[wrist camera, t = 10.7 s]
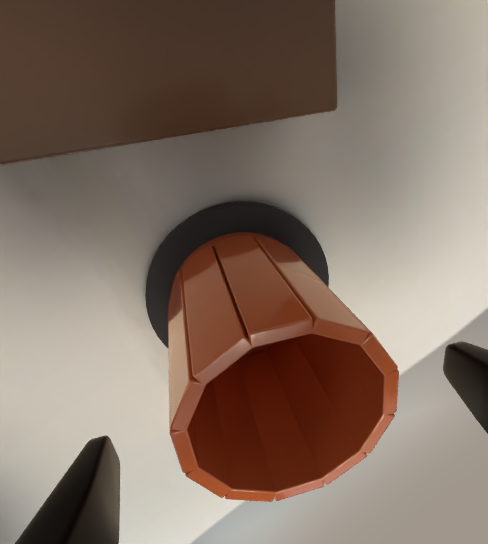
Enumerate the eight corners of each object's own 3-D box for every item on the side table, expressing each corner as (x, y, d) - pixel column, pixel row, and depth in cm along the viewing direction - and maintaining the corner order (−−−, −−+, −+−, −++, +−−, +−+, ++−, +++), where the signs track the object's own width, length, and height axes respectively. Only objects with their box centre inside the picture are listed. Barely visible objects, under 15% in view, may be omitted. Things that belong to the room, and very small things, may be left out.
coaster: (327, 341, 17) (332, 349, 16) (170, 381, 16) (170, 390, 15) (319, 184, 14) (325, 187, 13) (122, 222, 13) (120, 226, 12)
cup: (309, 337, 16) (393, 466, 10) (186, 367, 15) (199, 525, 9) (300, 218, 13) (405, 296, 7) (154, 248, 13) (144, 358, 7)
